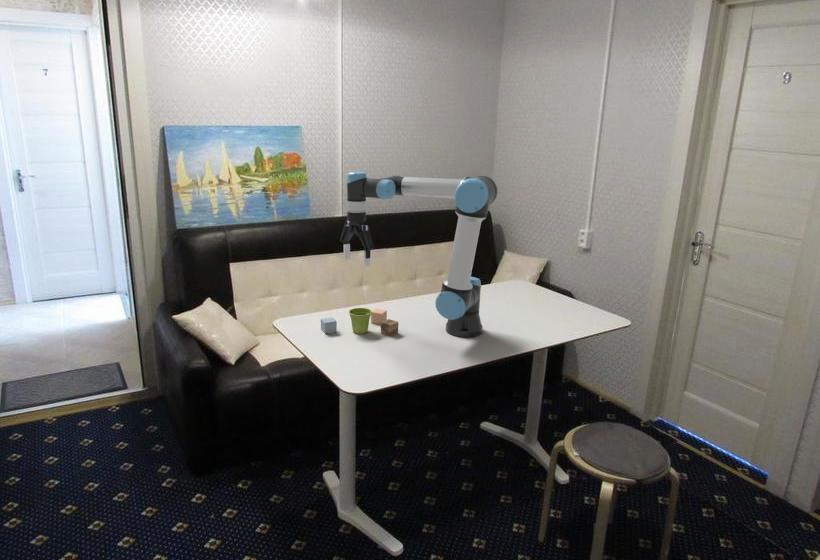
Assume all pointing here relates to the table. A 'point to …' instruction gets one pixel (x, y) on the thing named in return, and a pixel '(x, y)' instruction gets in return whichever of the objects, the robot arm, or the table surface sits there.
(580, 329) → the table surface
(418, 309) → the table surface
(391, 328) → the walnut cube
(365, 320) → the plant pot
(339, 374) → the table surface
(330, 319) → the slate grey cube
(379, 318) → the terracotta cube
